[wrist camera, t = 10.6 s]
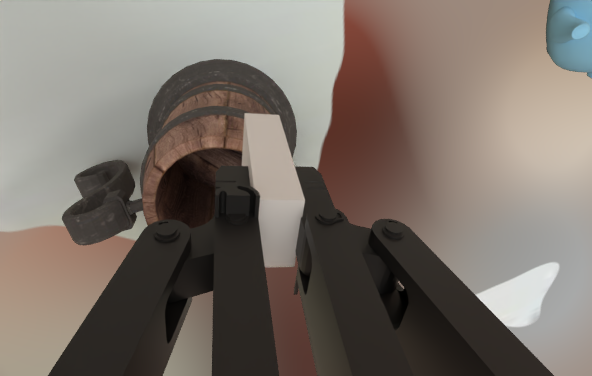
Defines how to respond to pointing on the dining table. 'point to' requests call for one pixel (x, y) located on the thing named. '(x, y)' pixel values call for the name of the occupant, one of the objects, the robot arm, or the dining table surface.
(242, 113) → the tankard
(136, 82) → the dining table surface
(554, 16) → the teapot
